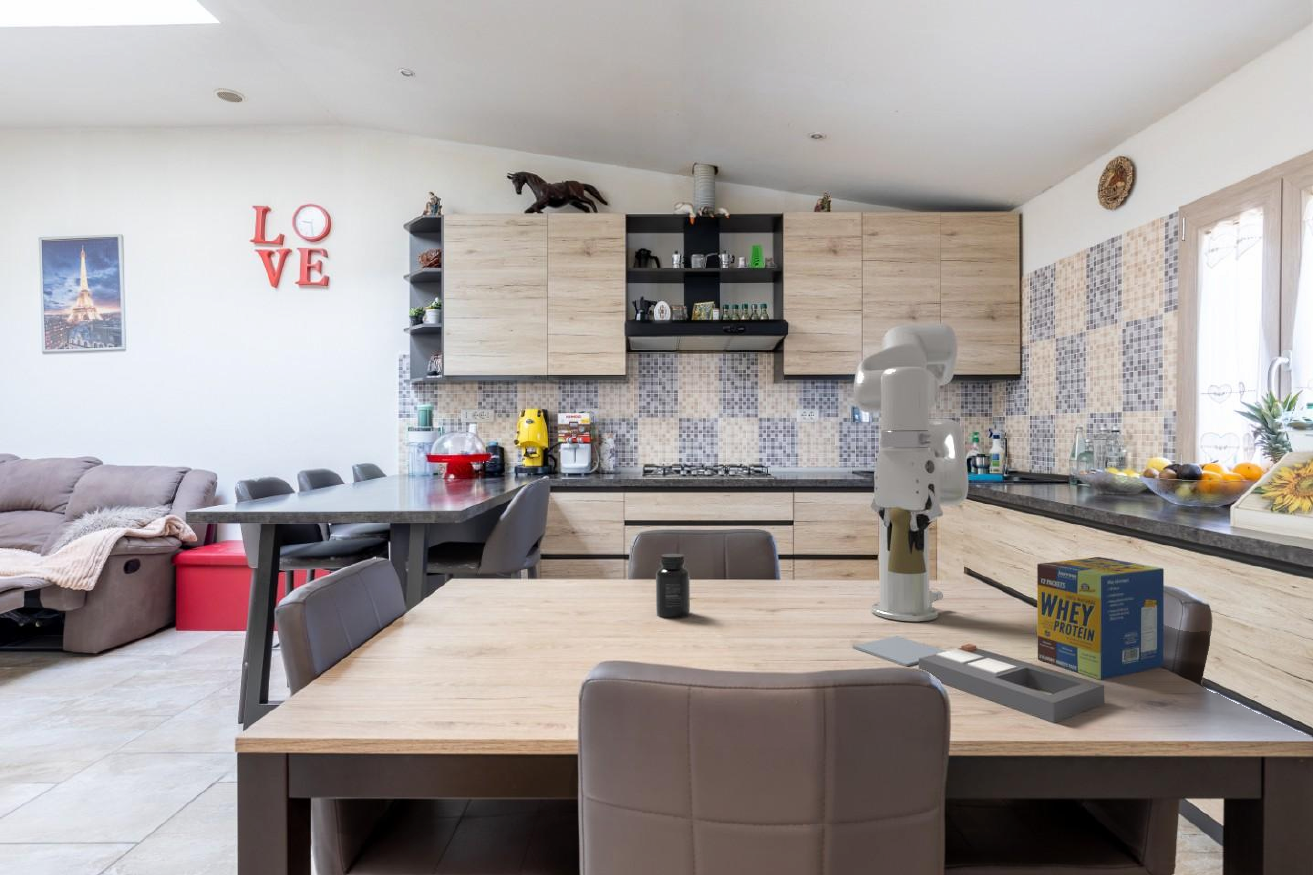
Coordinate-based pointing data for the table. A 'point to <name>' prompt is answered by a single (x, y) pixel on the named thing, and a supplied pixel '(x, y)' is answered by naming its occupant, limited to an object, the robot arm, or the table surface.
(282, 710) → the table surface
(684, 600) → the supplement bottle
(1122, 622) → the protein box
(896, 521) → the cork
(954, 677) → the grey compartment tray
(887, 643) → the slate mat
